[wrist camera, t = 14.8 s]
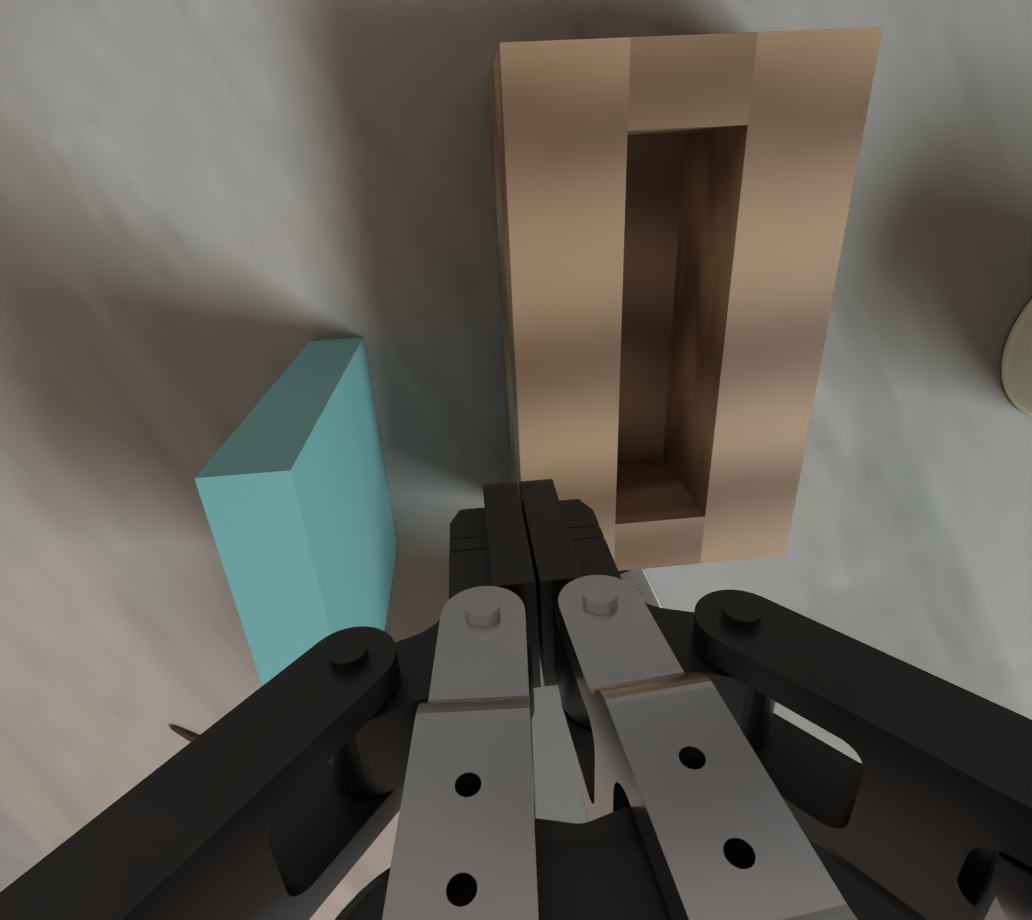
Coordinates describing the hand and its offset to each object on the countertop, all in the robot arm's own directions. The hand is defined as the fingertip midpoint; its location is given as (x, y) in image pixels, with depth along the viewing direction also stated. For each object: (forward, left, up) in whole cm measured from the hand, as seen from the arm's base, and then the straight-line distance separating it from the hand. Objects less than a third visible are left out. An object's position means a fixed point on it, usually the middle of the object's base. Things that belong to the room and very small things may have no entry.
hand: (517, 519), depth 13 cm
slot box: (0, +7, -18) cm, 19 cm away
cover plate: (+6, -7, -18) cm, 20 cm away
